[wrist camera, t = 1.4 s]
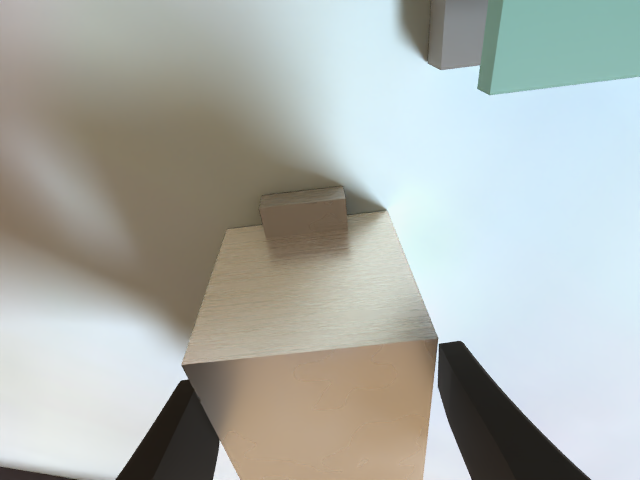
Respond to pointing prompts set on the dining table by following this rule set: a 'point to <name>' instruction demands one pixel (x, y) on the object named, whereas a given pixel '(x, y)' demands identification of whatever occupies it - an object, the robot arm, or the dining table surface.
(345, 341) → the block
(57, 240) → the dining table surface
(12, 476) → the calculator
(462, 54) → the stand
